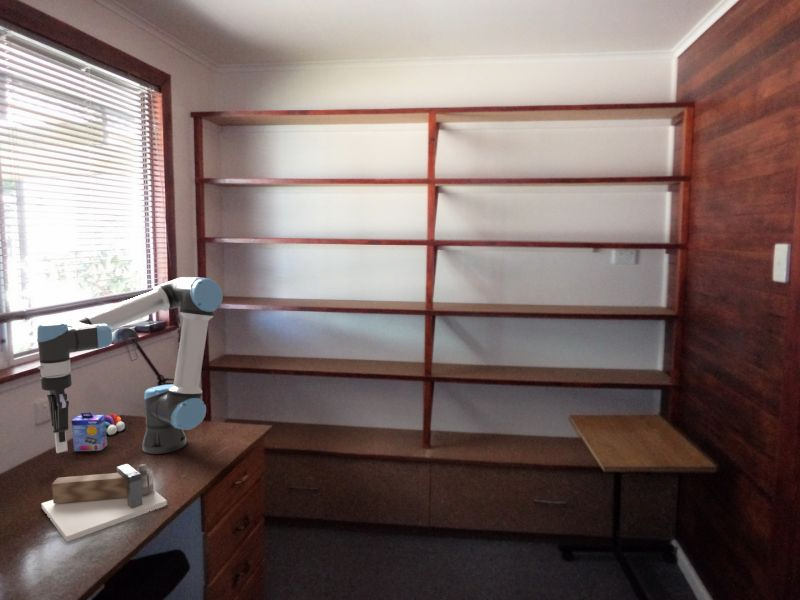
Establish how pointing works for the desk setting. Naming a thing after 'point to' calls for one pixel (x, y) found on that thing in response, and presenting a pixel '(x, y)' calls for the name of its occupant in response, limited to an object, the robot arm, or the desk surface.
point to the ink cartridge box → (89, 432)
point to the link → (98, 486)
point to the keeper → (131, 485)
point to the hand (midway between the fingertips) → (61, 451)
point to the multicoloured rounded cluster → (113, 424)
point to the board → (96, 513)
